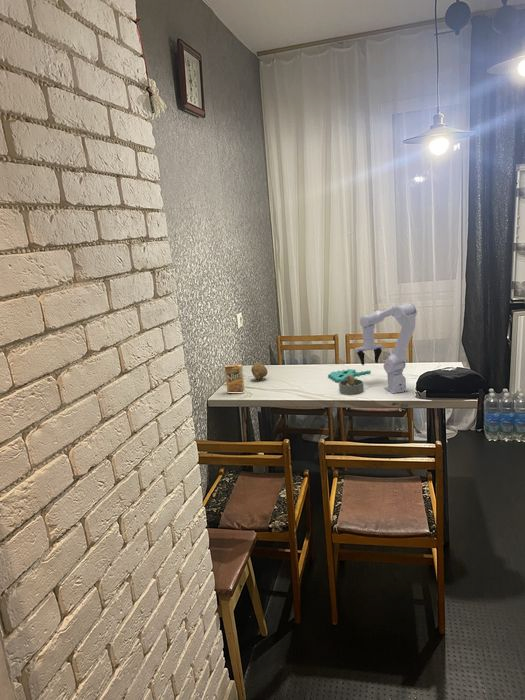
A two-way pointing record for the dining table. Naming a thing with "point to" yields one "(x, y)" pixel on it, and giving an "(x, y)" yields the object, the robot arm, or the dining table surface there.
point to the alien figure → (345, 374)
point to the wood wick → (350, 380)
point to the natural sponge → (259, 371)
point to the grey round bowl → (351, 387)
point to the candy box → (234, 378)
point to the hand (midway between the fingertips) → (369, 363)
